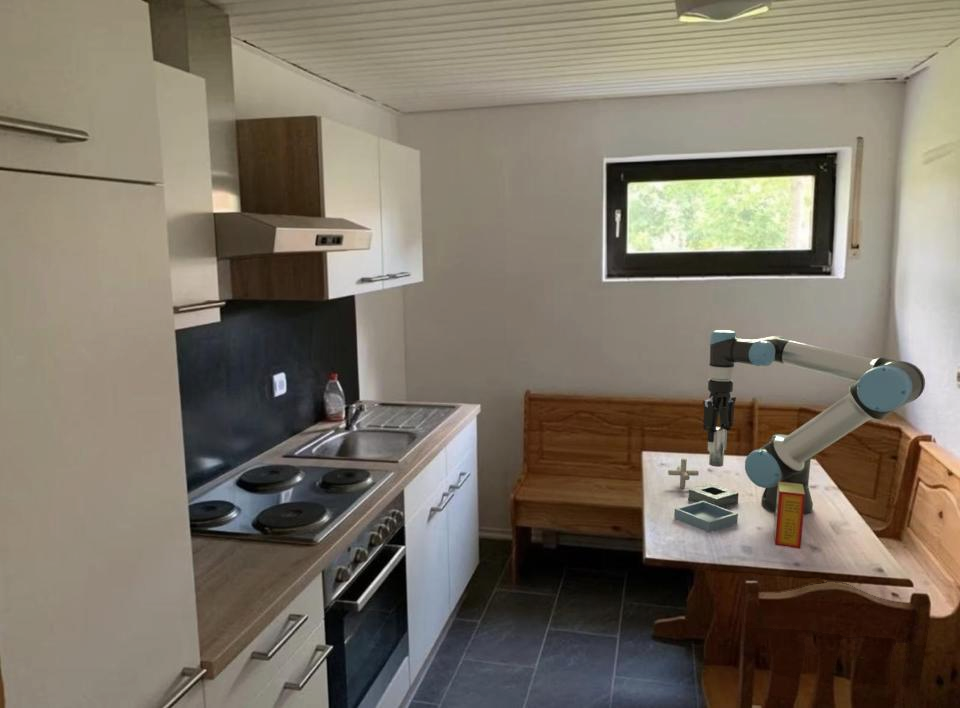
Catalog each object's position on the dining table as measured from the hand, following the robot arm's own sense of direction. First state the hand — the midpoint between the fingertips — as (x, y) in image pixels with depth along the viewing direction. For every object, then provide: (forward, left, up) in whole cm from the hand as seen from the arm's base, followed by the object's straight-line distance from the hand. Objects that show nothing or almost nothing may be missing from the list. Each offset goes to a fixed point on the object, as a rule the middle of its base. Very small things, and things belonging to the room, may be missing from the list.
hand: (716, 450), depth 233 cm
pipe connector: (+15, -2, -17) cm, 23 cm away
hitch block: (0, 0, -17) cm, 17 cm away
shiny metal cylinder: (0, 0, -5) cm, 5 cm away
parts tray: (-10, +16, -17) cm, 26 cm away
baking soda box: (-32, +8, -18) cm, 37 cm away
